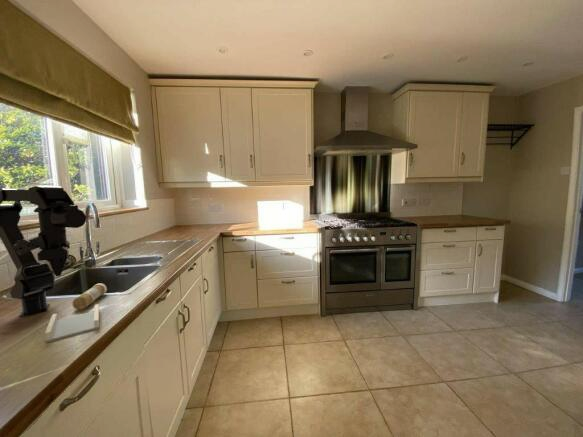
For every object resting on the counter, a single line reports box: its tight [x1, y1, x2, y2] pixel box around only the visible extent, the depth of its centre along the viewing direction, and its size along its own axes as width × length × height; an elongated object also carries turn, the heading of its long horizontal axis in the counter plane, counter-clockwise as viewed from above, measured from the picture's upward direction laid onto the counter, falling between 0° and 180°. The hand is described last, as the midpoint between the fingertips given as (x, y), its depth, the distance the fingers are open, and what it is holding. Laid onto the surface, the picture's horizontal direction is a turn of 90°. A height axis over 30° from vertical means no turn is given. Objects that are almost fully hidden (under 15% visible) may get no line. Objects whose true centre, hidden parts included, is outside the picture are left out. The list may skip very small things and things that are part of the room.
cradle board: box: [44, 303, 100, 344], centre depth 73 cm, size 13×11×3 cm
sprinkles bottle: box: [72, 283, 108, 311], centre depth 89 cm, size 5×5×13 cm
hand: (58, 275), depth 78 cm, fingers closed
